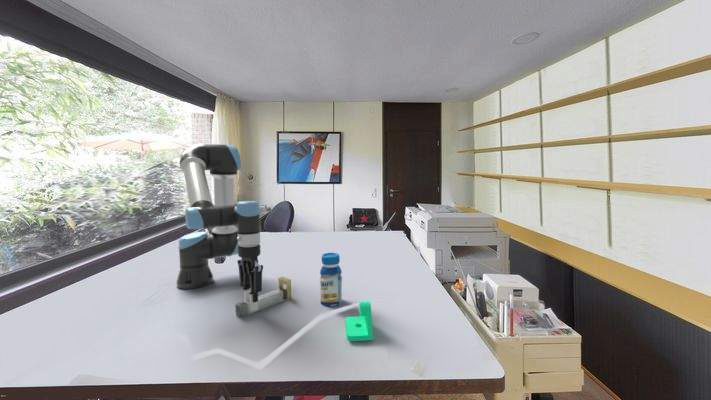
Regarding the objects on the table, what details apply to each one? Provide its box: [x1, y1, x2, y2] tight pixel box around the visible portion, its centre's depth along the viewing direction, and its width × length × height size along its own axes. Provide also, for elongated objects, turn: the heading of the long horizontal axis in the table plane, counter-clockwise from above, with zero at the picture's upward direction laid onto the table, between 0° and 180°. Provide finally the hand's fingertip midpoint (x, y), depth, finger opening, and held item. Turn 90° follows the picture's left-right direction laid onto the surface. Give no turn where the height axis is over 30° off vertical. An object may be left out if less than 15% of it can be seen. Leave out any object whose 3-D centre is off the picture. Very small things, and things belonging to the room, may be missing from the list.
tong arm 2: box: [237, 290, 284, 319], centre depth 109 cm, size 18×2×4 cm, turn 140°
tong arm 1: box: [235, 288, 279, 317], centre depth 110 cm, size 18×2×4 cm, turn 141°
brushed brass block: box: [277, 276, 293, 302], centre depth 117 cm, size 6×2×8 cm, turn 50°
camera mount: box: [345, 300, 374, 342], centre depth 94 cm, size 12×8×10 cm, turn 5°
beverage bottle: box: [319, 252, 343, 310], centre depth 113 cm, size 8×8×20 cm
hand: (251, 308), depth 106 cm, fingers open, 3 cm apart
